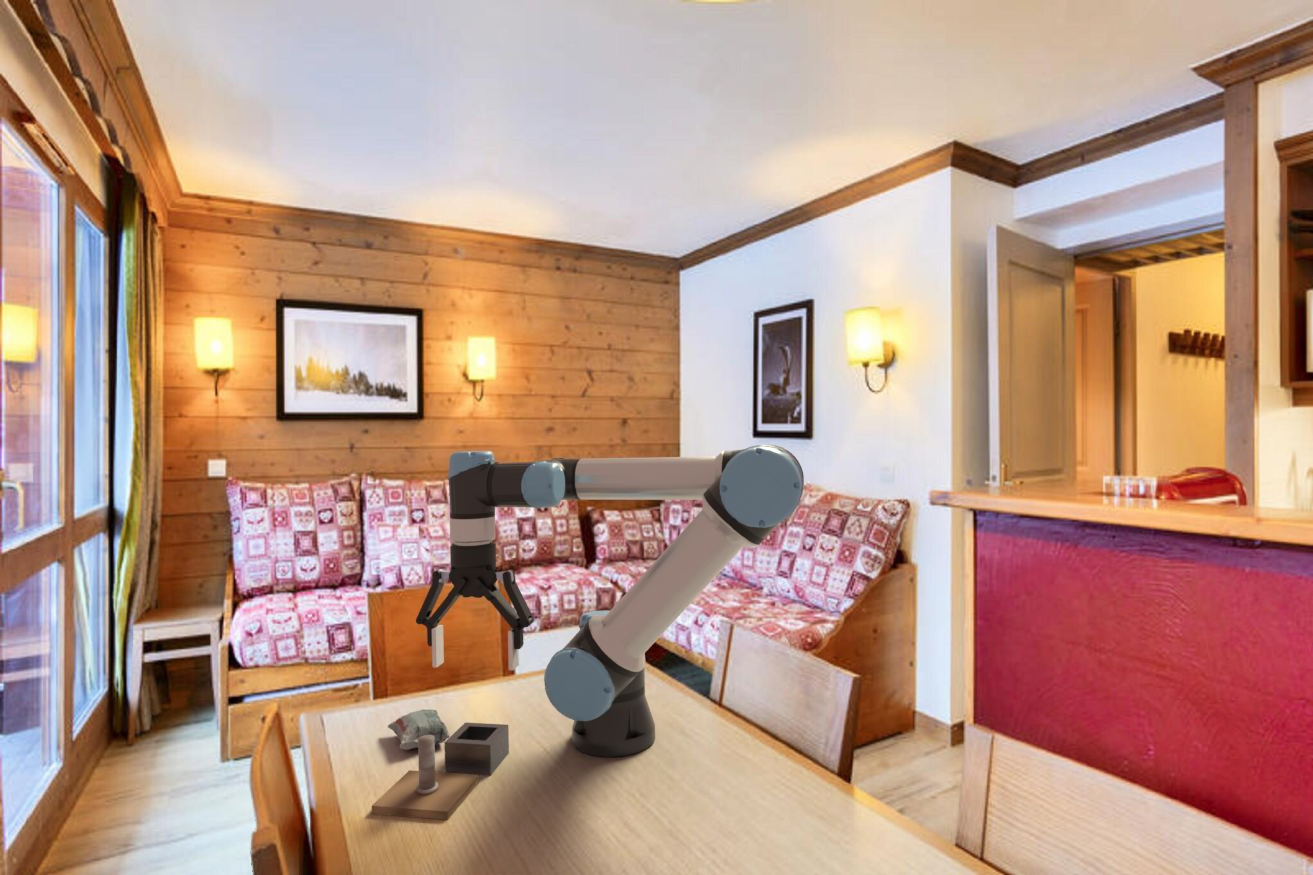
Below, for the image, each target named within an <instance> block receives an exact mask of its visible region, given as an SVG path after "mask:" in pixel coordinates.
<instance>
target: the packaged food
mask: <svg viewBox="0 0 1313 875" xmlns="http://www.w3.org/2000/svg"><path fill="white" fill-rule="evenodd" d="M387 728H388V729H390V730H392V731H393V733H394V734H395V735H396V736H397V738H398V739H399V742H400V745H399V748H400V749H401V750H414V749H418V738H419V737H421V736H424V735H433V736H434V739H435V746H436V745H439V744H442V743H445V741H446V740H447V739H448V738H450V734H449V730H448V728H447V726H446V724H445V723H444V722H443V721H442V720H441V717H440V716H439V714H438V711H437V709H436V710H435V709H420V710H416V711H412V712H411V711H410V712H408V714H404V715H403V716H400V717H398V718H397V719H395V721H392V722H391V723H389V724H388V725H387Z"/></svg>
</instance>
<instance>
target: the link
mask: <svg viewBox="0 0 1313 875" xmlns="http://www.w3.org/2000/svg"><path fill="white" fill-rule="evenodd" d="M509 730H510V729H509V724H504V723H503V724H501V723H485V722H484V723H483V722H481V723H480V722H464V723H463V724H462V725H461V726H460V727H459V728H458V729H456V731H455V732H453V734H452V735H450V736H449V738H447V739H446V740H445V741H444V773H457V774H472V775H483V776H492V774H493V773H494V772H495V771H496V769H497V768H498V767H500V764H502V762H503V761H505V759H506V758H507V756H508V755H509V754H510V744H509V743H510V740H509V738H510V737H509V734H510V732H509Z"/></svg>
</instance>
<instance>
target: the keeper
mask: <svg viewBox="0 0 1313 875" xmlns="http://www.w3.org/2000/svg"><path fill="white" fill-rule="evenodd" d="M435 746H436V745H435V739H434V736H433V735H424V736H421V737H419V738H418V748H417V749H418V751H417V752H418V756H417V757H418V759H417V760H418V770H408V771H407V772H406V773H405V774H404V775H403V776H402V777H400V779H398V780H397V781H396V782H395V783H394V784H393V785H392V786H390V788H388V790H387V791H386V792H384V793H383V795H381V797H379V798H378V799H377V800H376V801H375V802H374V803H372V805H371V815H383V816H396V817H407V818H408V817H409V818H420V819H421V818H422V819H423V818H424V819H434V820H449V819H450V818H451V816H453V814H454V813H455V812H456V810H457V809H458V808H459V807H460V806H461V804H463V802H464V801H465V800H466V799H467V797H468V796H469V795H470V794H471V793H472V791H473V790H474V789H475V787H477V785H478V784H479V783H480V777H479V774H464V773H449V772H439V771H436V754H435V753H436V752H435V750H436V749H435Z"/></svg>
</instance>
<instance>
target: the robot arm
mask: <svg viewBox="0 0 1313 875" xmlns="http://www.w3.org/2000/svg"><path fill="white" fill-rule="evenodd" d="M448 462H449V463H448V477H447V481H448V489H449V490H448V491H449V493H448V494H449V540H450V541H451V543H452V544H450V546H449V549H450V551H449V553H450V556H449V557H450V561H449V562H450V566H451V568H450V570H446V568H444V567H442V568H440V569H437V570H434V571H433V573H432V580H431V585H430V588H429V590H428V591H427V595H426V596H425V599H424V600H423V604H422V605H421V608H420V610H419V612H418V614H417V616H416V617H415V623H416V624H417V625H421V626H425V627H426V636H427V638H426V639H427V646H428V647H431V655H432V656H431V657H432V658H431V662H432V668H436V669H437V668H438V667H440V666H441V665H442V664H443V663H444V662H445V656H444V655H445V653H444V652H445V651H444V647H445V646H444V645H445V644H444V625H443V624H440V623H441V620H443V618H444V617H445V615H447V613H448V611H450V609H451V608H452V607H453V606H454V605H455V603H456V601H457V600H458V599H459V598H460V597H461V596H462V598H471V597H472V598H477V599H481V598H483V597H484V598H485V599H486V600H487V601H489V602H490V604H492V606H493V607H494V609H496V610H497V612H498V613H499V614H500V616H501V617H502V618H503V619H504V621H505V622H506V623H507V624H508V625H509V626H510V628H511V629H509V630H507V648H508V650H507V652H508V655H507V656H508V658H507V659H508V660H507V661H508V671H514V670H515V669H516V668H517V667H518V666H520V664H519V662H520V659H519V658H520V657H519V650H521V649H522V648H523V646H524V629H525V628H528V627H530V626H531V625H532V624H533V623H534V621H535V618H534V616H533V614H532V612H531V610H530V608H529V606H528V603H527V602H526V600H525V598H524V596H523V594H522V592H521V589H520V588H519V586H518V584H517V581H516V573H515V572H516V571H515V569H513V568H510V569H508V570H505V571H498V569H497V545H496V544H497V543H495V541H493V540H495V538H496V508H503V507H505V508H506V507H507V508H511V507H512V508H535V509H538V510H540V509H543V508H554V507H557V506H559V505H560V504H561V502H562V501H575V500H576V501H579V500H581V501H582V500H592V501H593V500H595V501H596V500H605V501H606V500H613V501H614V500H619V501H620V500H621V501H622V500H627V501H628V500H629V501H630V500H631V501H633V500H634V501H635V500H637V501H638V500H639V501H640V500H641V501H643V500H645V501H649V500H650V501H652V500H653V501H654V500H655V501H656V500H657V501H669V500H670V501H689V500H691V501H702V509H701V510H700V511H699V512H698V514H697V515H696V516H695V517H694V518H693V519H692V520H691V521H690V522H689V524H688V525H687V526H686V527H685V528H684V529H683V530H682V531H681V532H680V533H679V534H678V536H677V537H676V538H675V539H674V540H673V541H672V542H671V543H670V544H669V546H668V547H667V548H666V549H665V550H664V551H663V552H662V553H661V555H659V556H658V558H657V559H656V560H654V562H653V563H652V564H651V565H650V566H649V567H648V569H647V570H645V572H644V573H643V574H642V575H641V576H640V577H639V579H638V580H637V581H636V582H635V583H634V584H633V585H632V586H631V587H630V589H628V591H627V592H625V594H624V595H623V596H622V597H621V599H620V600H619V601H618V602H617V603H616V604H615V605H614V606H613V607H612V608H611V609H610V610H593V611H586V612H584V613H582V615H580V618H579V624H578V628H579V630H578V632H577V633H576V634H575V635H574V636H573V637H572V638H571V640H569V641H568V643H567V644H566V645H565V646H564V647H563V648H562V649H560V650H558V651H556V652H555V653H554V655H553V656H552V657H551V658H550V660H549V662H548V664H547V665H546V668H545V671H544V677H543V682H544V691H545V694H546V696H547V698H548V701H549V702H550V703H551V705H552V707H553V708H555V710H556V711H557V712H558V713H559V714H561V715H562V716H563V717H566V718H568V719H570V720H573V724H572V726H571V727H572V728H571V741H572V745H573V746H574V748H576V749H577V750H579V751H580V752H582V753H585V754H588V755H591V756H596V757H607V758H611V757H613V758H614V757H622V756H623V757H624V756H629V755H634V754H637V753H639V752H642V751H645V750H646V749H648V748H649V747H651V746H652V745H653V743H654V742H655V741H656V723H655V720H654V718H653V714H652V712H651V709H650V705H649V702H648V700H647V697H646V687H645V686H646V682H645V681H646V680H645V679H646V676H645V673H646V670H645V666H646V655H645V654H646V652H647V651H648V650H649V649H650V648H651V647H652V646H653V645H654V643H655V642H657V641H658V640H659V639H660V637H662V635H663V634H664V633H665V632H666V631H667V630H668V629H669V627H670V626H671V625H672V624H673V623H674V622H675V621H676V620H677V619H678V618H679V617H680V616H681V615H682V614H683V612H685V611H686V609H687V608H688V607H690V605H691V604H692V603H693V602H694V601H695V600H696V599H697V597H698V596H700V595H701V593H702V592H703V591H704V590H705V589H706V588H707V587H708V586H709V585H710V584H711V582H713V580H714V579H716V577H717V576H718V575H719V574H720V573H721V572H722V571H723V569H724V568H725V567H726V566H728V564H730V562H731V561H733V559H734V558H735V557H736V556H737V554H738V553H739V552H740V551H741V550H742V549H743V548H746V547H748V548H749V547H759V545H760V544H762V542H764V540H766V539H767V537H768V536H769V535H770V534H771V533H772V532H773V531H774V530H775V529H776V528H777V527H778V525H780V524H782V522H783V521H786V520H787V519H788V518H789V517H790V516H792V514H793V513H794V512H795V510H796V509H797V508H798V505H799V504H800V502H801V499H802V496H803V492H804V485H805V484H804V483H805V481H804V480H805V479H804V477H805V475H804V471H803V468H802V466H801V464H800V462H799V460H798V459H797V457H796V456H795V455H794V454H793V453H792V452H790V451H789V450H787V449H785V448H784V447H783V446H779V445H774V444H759V445H758V444H757V445H753V446H752V445H751V446H749V447H746V448H744V449H733V450H722V451H721V452H720V453H719V454H718V455H717V456H676V457H675V456H671V457H670V456H669V457H665V456H663V457H658V456H657V457H656V456H655V457H606V458H605V457H603V458H601V457H600V458H599V457H598V458H597V457H596V458H595V457H594V458H592V457H591V458H566V457H555V458H551V459H544V460H534V461H524V462H523V461H522V462H517V461H516V462H497V461H496V459H495V454H494V453H493V452H492V451H491V450H471V451H470V450H467V451H466V450H465V451H464V450H463V451H455V452H453V453H451V455H450V456H449V460H448ZM448 580H449V581H450V582H451V584H452V585H453V587H452V588H451V590H450V591H449V592H448V593H447V596H446V597H445V599H444V600H442V602H441V603H440V605H439V606H438V607H437V608H436V610H435V611H434V609H435V606H436V603H437V601H438V599H439V597H440V594H441V592H442V590H443V588H444V586H445V583H447V582H448ZM498 580H499V581H500V584H502V585H503V587H504V590H505V592H506V594H507V596H508V598H509V600H510V602H511V604H512V605H511V604H510V603H509V602H508V601H507V599H506V598H505V597H504V596H503V594H502V593H501V589H499V588H498V587H497V585H496V583H497V582H498ZM512 606H513V607H512ZM433 611H434V613H433V614H432V612H433Z"/></svg>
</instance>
